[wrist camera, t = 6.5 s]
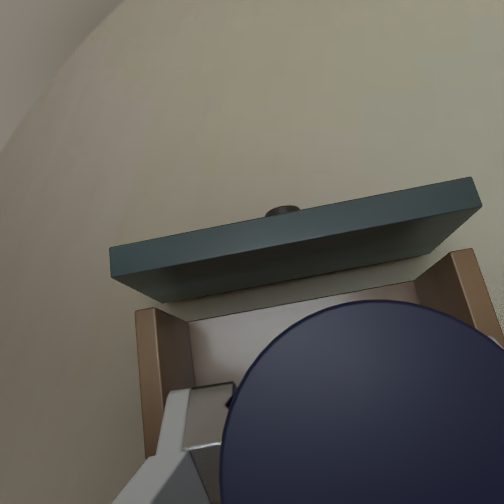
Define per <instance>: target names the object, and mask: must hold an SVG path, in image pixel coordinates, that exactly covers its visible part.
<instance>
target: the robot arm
mask: <svg viewBox="0 0 504 504" xmlns="http://www.w3.org/2000/svg"><path fill="white" fill-rule="evenodd" d="M488 337H489V338H491V339H492V340H493V341H494V342H496V343H497V344H498V345H499V346H500V347H502V346H501V345H500V344H499V343H498V342H497V340H496V339H495V338H493V337H491V336H488ZM502 348H503V347H502ZM503 349H504V348H503ZM236 390H237V387H236V384H235V382H234V381H231V382H224V383H218V384H211V385H204V386H197V387H192V388H187V389H180V390H173V391H170V393H169V394H168V396H167V399H166V404H165V409H164V415H163V420H162V425H161V430H160V435H159V440H158V445H157V450H156V455H155V456H150V457H148V458H147V460H146V461H145V462H144V463H143V465H142V466H141V467H140V468H139V469H138V471H137V472H136V473H135V474H134V476H133V477H132V478H131V479H130V481H129V482H128V483H127V484H126V485H125V487H124V488H123V489H122V490H121V492H120V493H119V494H118V495H117V497H116V498H115V499H114V500H113V501H112V503H111V504H217V503H221V500H220V488H219V453H220V446H221V439H222V432H223V428H224V424H225V421H226V417H227V413H228V410H229V407H230V405H231V402H232V400H233V397H234V395H235V392H236Z"/></svg>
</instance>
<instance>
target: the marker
mask: <svg viewBox="0 0 504 504" xmlns="http://www.w3.org/2000/svg"><path fill="white" fill-rule="evenodd" d="M219 488H220V500H221V504H504V349H503V348H502V347H500V346H499V345H498V344H497V343H496V342H494V341H493V340H492V339H491V338H489V337H488V336H486V335H485V334H483V333H482V332H480V331H479V330H477V329H476V328H474V327H473V326H471V325H469V324H467V323H465V322H464V321H462V320H460V319H458V318H456V317H454V316H452V315H450V314H447V313H444V312H442V311H439V310H436V309H433V308H431V307H428V306H423V305H419V304H415V303H411V302H406V301H397V300H388V299H369V300H359V301H352V302H345V303H341V304H338V305H334V306H330V307H327V308H324V309H322V310H319V311H317V312H315V313H312V314H310V315H308V316H306V317H304V318H303V319H301V320H299V321H297V322H296V323H294V324H292V325H291V326H289V327H288V328H287V329H286V330H284V331H283V332H282V333H280V334H279V335H278V336H277V337H275V338H274V339H273V340H272V341H271V342H270V343H269V344H268V345H267V346H266V347H265V348H264V350H263V351H262V352H261V353H260V354H259V355H258V356H257V358H256V359H255V360H254V362H253V363H252V365H251V366H250V367H249V369H248V370H247V372H246V373H245V375H244V377H243V379H242V381H241V382H240V384H239V386H238V388H237V390H236V392H235V395H234V397H233V400H232V402H231V405H230V407H229V410H228V413H227V417H226V421H225V424H224V428H223V432H222V439H221V446H220V453H219Z"/></svg>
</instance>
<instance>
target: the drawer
mask: <svg viewBox="0 0 504 504" xmlns="http://www.w3.org/2000/svg"><path fill="white" fill-rule="evenodd" d="M481 207H482V203H481V200H480V198H479V195H478V192H477V190H476V187H475V184H474V182H473V179H472V177H466V178H461V179H456V180H451V181H446V182H441V183H436V184H430V185H425V186H420V187H415V188H410V189H405V190H400V191H395V192H390V193H385V194H380V195H374V196H369V197H364V198H359V199H354V200H349V201H344V202H339V203H334V204H329V205H324V206H318V207H313V208H308V209H303V210H300V209H299V208H298V207H297V206H291V205H288V206H281V207H277V208H274V209H272V210H270V211H268V212H267V213H266V215H265V217H262V218H257V219H252V220H247V221H242V222H237V223H232V224H227V225H222V226H217V227H212V228H206V229H201V230H196V231H191V232H186V233H181V234H176V235H171V236H166V237H161V238H156V239H150V240H145V241H140V242H135V243H130V244H125V245H120V246H115V247H110V248H109V253H110V271H111V278H113V279H115V280H117V281H119V282H121V283H123V284H125V285H127V286H129V287H131V288H133V289H135V290H137V291H139V292H141V293H143V294H145V295H147V296H149V297H151V298H153V299H155V300H157V301H159V302H161V303H168V302H173V301H179V300H184V299H189V298H195V297H200V296H205V295H211V294H216V293H221V292H227V291H232V290H237V289H243V288H248V287H254V286H259V285H264V284H270V283H275V282H280V281H286V280H291V279H296V278H302V277H307V276H312V275H318V274H323V273H329V272H334V271H339V270H345V269H350V268H355V267H361V266H366V265H371V264H377V263H382V262H387V261H393V260H398V259H403V258H409V257H414V256H420V255H425V254H429V253H431V252H432V251H433V250H434V249H435V248H436V247H437V246H439V245H440V244H441V243H442V242H443V241H444V240H445V239H446V238H448V237H449V236H450V235H451V234H452V233H453V232H454V231H455V230H457V229H458V228H459V227H460V226H461V225H462V224H463V223H464V222H465V221H467V220H468V219H469V218H470V217H471V216H472V215H473V214H474V213H476V212H477V211H478V210H479V209H480V208H481ZM369 299H388V300H397V301H406V302H411V303H415V304H419V305H423V306H428V307H431V308H433V309H436V310H439V311H442V312H444V313H447V314H450V315H452V316H454V317H456V318H458V319H460V320H462V321H464V322H465V323H467V324H469V325H471V326H473V327H474V328H476V329H477V330H479V331H480V332H482V333H483V334H485V335H486V336H491V337H493V338H495V339H496V340H497V342H498V343H499V344H500V345H501V346H502V347H503V348H504V336H503V333H502V330H501V327H500V325H499V322H498V319H497V316H496V313H495V310H494V308H493V305H492V302H491V299H490V296H489V293H488V291H487V288H486V285H485V282H484V279H483V276H482V274H481V271H480V268H479V265H478V262H477V259H476V257H475V254H474V251H473V249H472V248H468V249H463V250H458V251H452V252H450V253H448V254H447V255H446V256H444V257H443V258H442V259H441V260H439V261H438V262H437V263H435V264H434V265H433V266H432V267H430V268H429V269H428V270H426V271H425V272H424V273H423V274H421V275H420V276H419V277H418V278H416V279H415V280H413V281H408V282H402V283H397V284H391V285H386V286H381V287H375V288H370V289H364V290H359V291H353V292H348V293H342V294H337V295H331V296H326V297H321V298H315V299H310V300H304V301H299V302H293V303H288V304H282V305H277V306H271V307H266V308H261V309H255V310H250V311H244V312H239V313H233V314H228V315H222V316H217V317H211V318H206V319H201V320H195V321H190V322H186V321H184V320H182V319H180V318H177V317H175V316H173V315H171V314H168V313H166V312H164V311H162V310H160V309H157V308H155V307H152V308H147V309H142V310H137V311H135V324H136V338H137V351H138V364H139V378H140V391H141V405H142V418H143V431H144V445H145V458H146V460H147V458H148V457H150V456H155V455H156V450H157V445H158V440H159V435H160V430H161V425H162V420H163V415H164V409H165V404H166V399H167V396H168V394H169V393H170V391H173V390H180V389H187V388H192V387H197V386H204V385H211V384H218V383H224V382H231V381H234V382H235V384H236V387H237V388H238V386H239V384H240V382H241V381H242V379H243V377H244V375H245V373H246V372H247V370H248V369H249V367H250V366H251V365H252V363H253V362H254V360H255V359H256V358H257V356H258V355H259V354H260V353H261V352H262V351H263V350H264V348H265V347H266V346H267V345H268V344H269V343H270V342H271V341H272V340H273V339H274V338H275V337H277V336H278V335H279V334H280V333H282V332H283V331H284V330H286V329H287V328H288V327H289V326H291V325H292V324H294V323H296V322H297V321H299V320H301V319H303V318H304V317H306V316H308V315H310V314H312V313H315V312H317V311H319V310H322V309H324V308H327V307H330V306H334V305H338V304H341V303H345V302H352V301H359V300H369ZM217 504H221V503H217Z"/></svg>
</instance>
